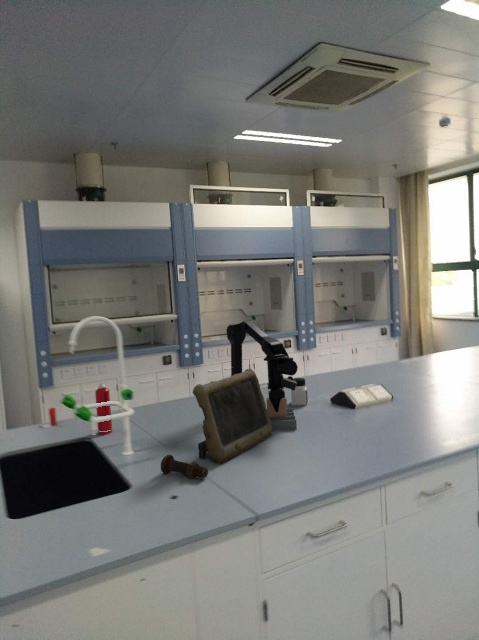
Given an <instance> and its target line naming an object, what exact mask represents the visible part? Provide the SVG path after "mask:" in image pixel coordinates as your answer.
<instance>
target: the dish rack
mask: <svg viewBox="0 0 479 640" xmlns="http://www.w3.org/2000/svg"><path fill="white" fill-rule="evenodd" d="M269 418H270V421H271V425H272V431H290V430H298V429H297V428H298V427H297V425H298V423H297V419H296V416H295V412H294V408H287V416H276V417H269Z"/></svg>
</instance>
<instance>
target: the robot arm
mask: <svg viewBox="0 0 479 640" xmlns="http://www.w3.org/2000/svg"><path fill="white" fill-rule="evenodd" d="M247 334H248V336H250V338H252V339H253V340H254V341H256V343H258V344H259V345H260V348H261V351H262V352H263V353H264V355H265V357H264V358H263V361H264V362H267V363H266V364H267V380H268V383H267V390H269V391H267V394H268V398H269V399H270V401H271V403H272V405H273V407H274V409H275V412H278V411H279V405H280V400H281V399H282V398H285V397H286V393H285V390H284V389H285V388H286V389H288V390H290V391H291V390H293V391H295V388H296V385H297V382H296V381H295V380H293V379H294V377H293V376H294V375H296V374H297V372H298V369H299V368H298V363H297V362H296V361H294V357H290V356H289V354H288V352H287V350H286V349H285V346H284V343H283V342H282V341H281V340H279V339H277V338H275V337H271V336H269V335H268V334H266V332H264V331H263V330H262V329H261V328H260V327H258V325H256V324H255V323H254V321H252V320H243V321H241V322H239V323H235V324H229V325H228V326H227V327H226V337H227V340H228V341H229V343H230V377H231V376H233V375H234V374H239V373H242V372H243V343H244V341H245V339H246V336H247ZM284 375H286V376H288V377H284Z"/></svg>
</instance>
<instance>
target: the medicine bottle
mask: <svg viewBox="0 0 479 640" xmlns="http://www.w3.org/2000/svg"><path fill="white" fill-rule="evenodd" d="M293 380H295V381H296V382H297V385H296V388H295V391H293V390H291V389H290V397H291V398H290V399H291V405H292V406H308V397H309V396H308V387H307V386H306V378H303V377H293Z"/></svg>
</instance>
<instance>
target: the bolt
mask: <svg viewBox="0 0 479 640" xmlns="http://www.w3.org/2000/svg"><path fill="white" fill-rule="evenodd" d="M160 471H161V472H162V473H163V474H165V475H168V474H170V473H171V472H175V473H179V474H183V475H186V476H187V477H188V479H191V480H193V479H194V480H195V479H197V478H200V479H205V478H206V477H208V475H209V470H208V467H205V466H201V465H200V464H199V463H198V461H192V462H190V463H188V462H183V461H180V460H176V459H175V457H174V455H172V454H167V455H165V456H164V457H163V458H162V459H161V462H160Z"/></svg>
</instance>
